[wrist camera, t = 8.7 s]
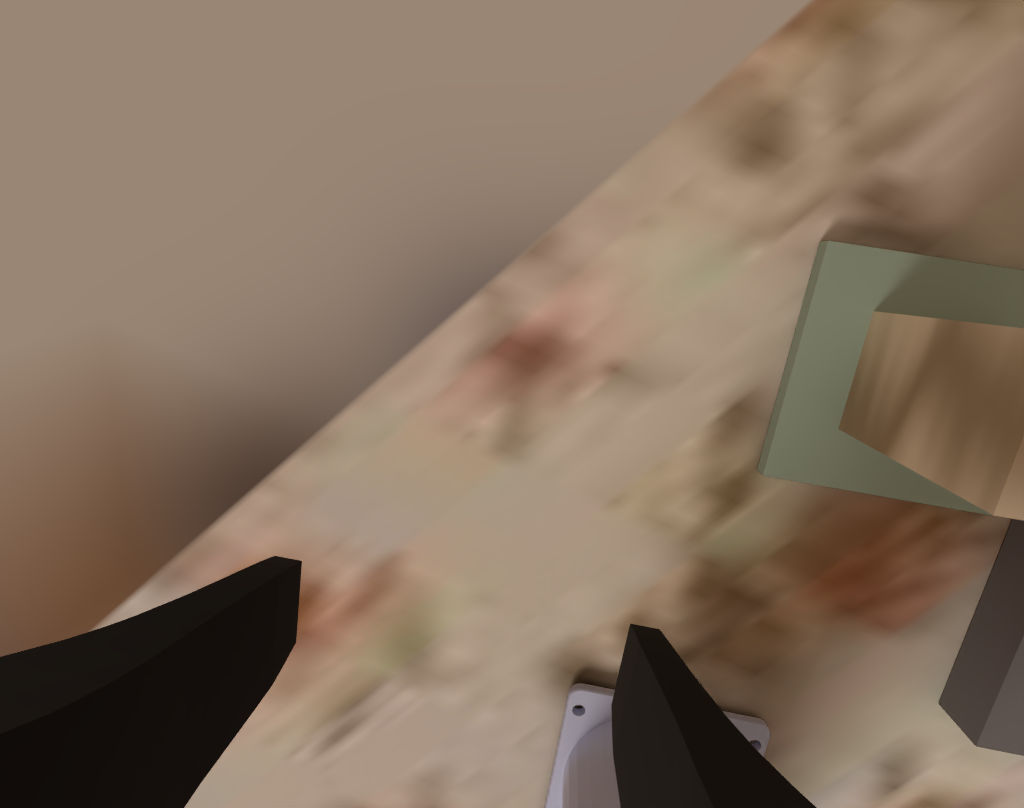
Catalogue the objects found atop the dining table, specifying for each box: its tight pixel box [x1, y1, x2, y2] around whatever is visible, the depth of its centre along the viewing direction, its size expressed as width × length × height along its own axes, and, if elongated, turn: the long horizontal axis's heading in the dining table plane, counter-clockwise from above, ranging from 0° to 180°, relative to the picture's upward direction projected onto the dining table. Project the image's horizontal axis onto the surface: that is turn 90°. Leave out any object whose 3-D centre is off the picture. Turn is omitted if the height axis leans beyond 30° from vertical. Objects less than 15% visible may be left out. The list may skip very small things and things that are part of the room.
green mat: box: [757, 241, 1024, 517], centre depth 19 cm, size 8×8×1 cm
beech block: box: [838, 311, 1024, 521], centre depth 15 cm, size 4×4×7 cm
